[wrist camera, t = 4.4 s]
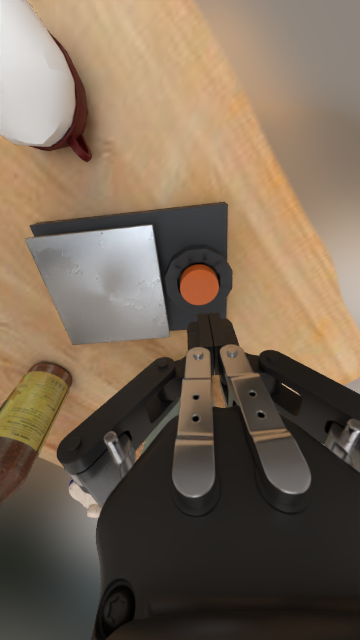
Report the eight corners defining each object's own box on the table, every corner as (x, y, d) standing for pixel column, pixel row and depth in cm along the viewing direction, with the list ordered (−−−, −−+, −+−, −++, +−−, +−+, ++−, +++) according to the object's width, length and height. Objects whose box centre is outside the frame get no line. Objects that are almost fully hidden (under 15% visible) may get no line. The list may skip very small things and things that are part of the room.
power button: (181, 299, 24) (182, 306, 22) (178, 265, 22) (178, 271, 20) (216, 296, 23) (219, 303, 22) (216, 262, 21) (218, 267, 20)
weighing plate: (74, 341, 26) (72, 345, 26) (28, 237, 20) (24, 238, 19) (170, 334, 25) (170, 337, 25) (153, 223, 19) (152, 224, 19)
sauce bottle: (25, 358, 31) (-151, 569, 15) (71, 363, 32) (-48, 572, 15) (34, 390, 35) (-99, 589, 18) (76, 393, 35) (-16, 591, 19)
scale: (81, 331, 29) (72, 346, 26) (37, 222, 22) (18, 229, 19) (226, 319, 28) (231, 334, 25) (227, 201, 21) (234, 205, 18)
